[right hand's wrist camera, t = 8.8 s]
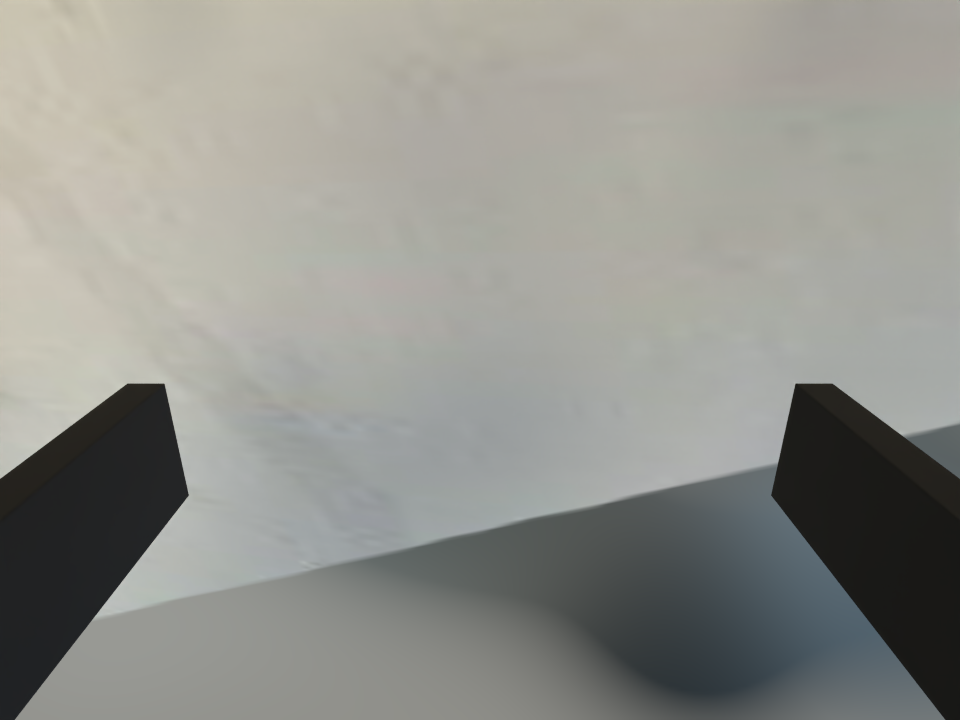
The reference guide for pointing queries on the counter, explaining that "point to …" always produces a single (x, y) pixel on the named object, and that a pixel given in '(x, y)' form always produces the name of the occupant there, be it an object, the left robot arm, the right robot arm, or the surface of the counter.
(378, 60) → the counter surface
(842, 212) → the counter surface
